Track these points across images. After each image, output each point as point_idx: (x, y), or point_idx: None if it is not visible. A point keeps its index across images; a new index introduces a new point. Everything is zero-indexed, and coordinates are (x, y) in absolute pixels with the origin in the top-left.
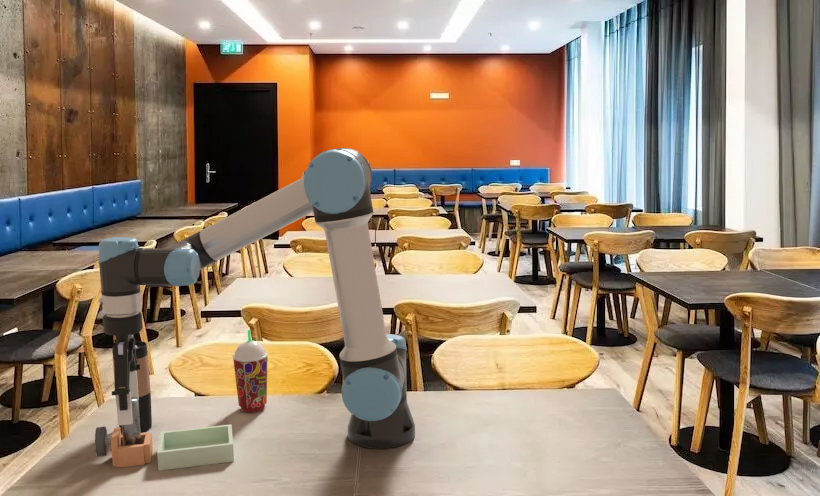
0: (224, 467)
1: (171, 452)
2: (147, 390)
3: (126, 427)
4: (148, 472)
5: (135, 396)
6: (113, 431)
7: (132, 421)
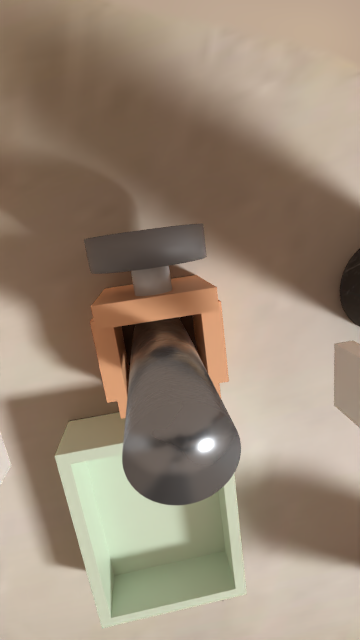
0: (75, 562)
1: (66, 488)
2: None
3: (130, 371)
4: (58, 398)
5: (349, 406)
6: (176, 294)
7: (6, 471)
